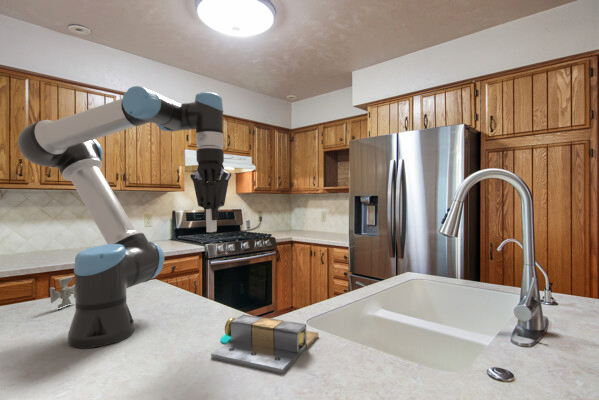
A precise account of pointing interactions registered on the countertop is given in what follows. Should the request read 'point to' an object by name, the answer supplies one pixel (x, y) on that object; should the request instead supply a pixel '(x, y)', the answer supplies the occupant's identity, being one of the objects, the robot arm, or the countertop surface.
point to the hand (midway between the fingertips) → (211, 231)
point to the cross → (63, 292)
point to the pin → (228, 323)
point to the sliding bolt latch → (264, 343)
